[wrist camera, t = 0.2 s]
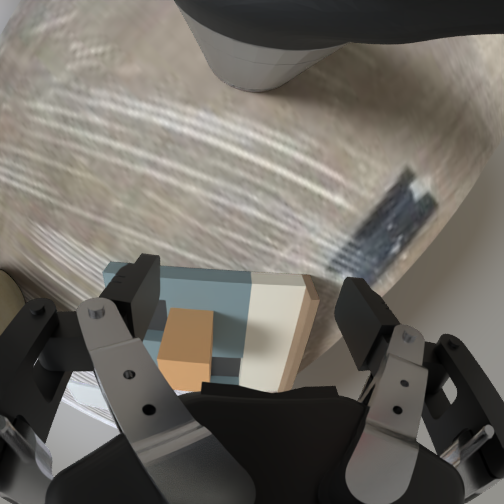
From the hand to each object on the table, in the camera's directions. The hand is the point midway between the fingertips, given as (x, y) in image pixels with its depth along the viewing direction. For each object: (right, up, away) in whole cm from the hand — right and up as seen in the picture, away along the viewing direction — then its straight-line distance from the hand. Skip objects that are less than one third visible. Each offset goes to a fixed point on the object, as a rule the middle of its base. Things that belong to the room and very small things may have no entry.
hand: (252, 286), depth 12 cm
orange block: (-7, -7, +21) cm, 23 cm away
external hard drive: (-31, -27, +33) cm, 53 cm away
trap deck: (-6, -9, +25) cm, 27 cm away
